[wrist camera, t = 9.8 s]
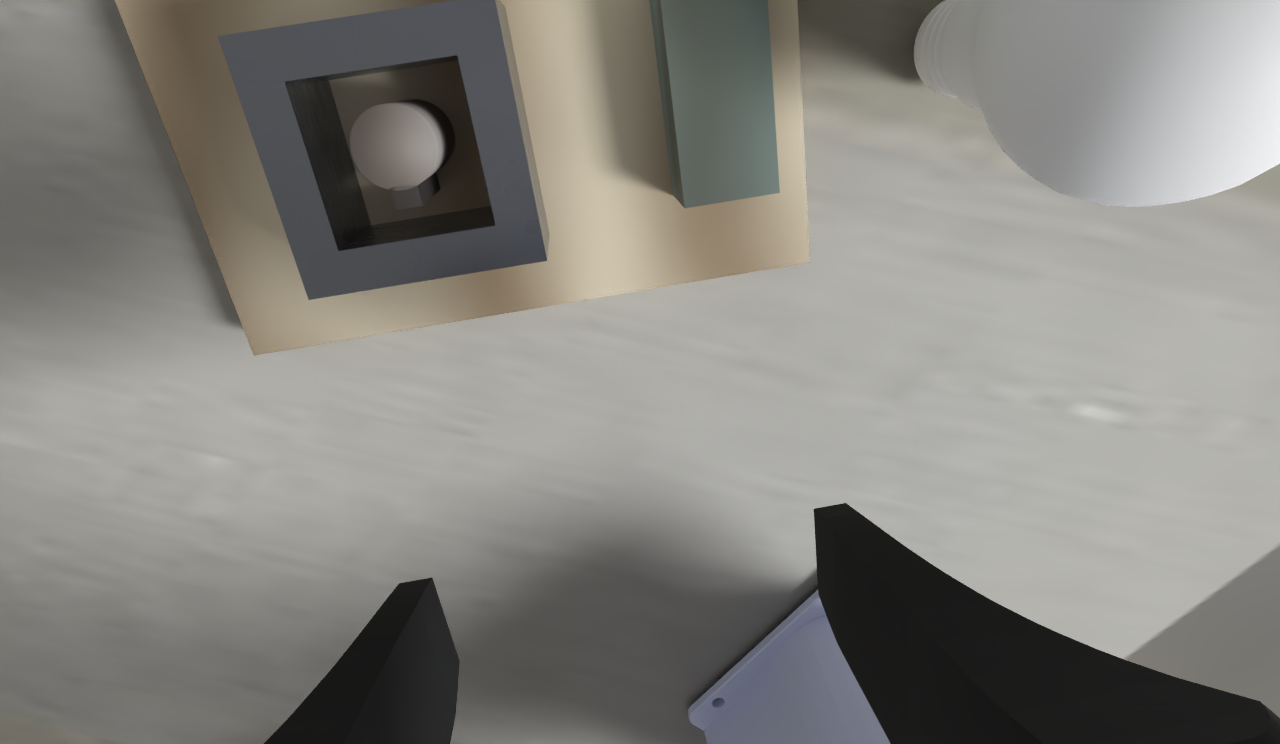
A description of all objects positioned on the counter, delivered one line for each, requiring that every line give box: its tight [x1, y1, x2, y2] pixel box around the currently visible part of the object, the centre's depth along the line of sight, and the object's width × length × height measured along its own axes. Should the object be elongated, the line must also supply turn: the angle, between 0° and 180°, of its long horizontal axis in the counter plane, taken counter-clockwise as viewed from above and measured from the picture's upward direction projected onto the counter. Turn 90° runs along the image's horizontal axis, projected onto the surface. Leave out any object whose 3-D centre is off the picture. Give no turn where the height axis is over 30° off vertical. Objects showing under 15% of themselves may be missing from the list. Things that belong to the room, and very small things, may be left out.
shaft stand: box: [115, 0, 810, 355], centre depth 17 cm, size 16×10×4 cm, turn 98°
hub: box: [218, 0, 550, 300], centre depth 17 cm, size 6×6×3 cm
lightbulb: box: [914, 0, 1280, 207], centre depth 15 cm, size 6×6×11 cm
